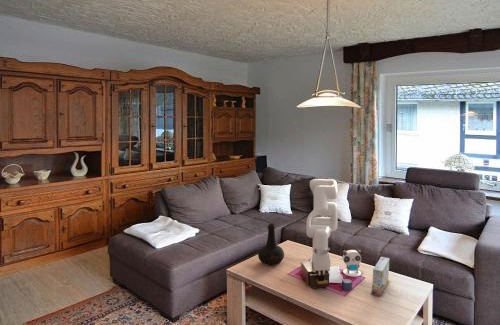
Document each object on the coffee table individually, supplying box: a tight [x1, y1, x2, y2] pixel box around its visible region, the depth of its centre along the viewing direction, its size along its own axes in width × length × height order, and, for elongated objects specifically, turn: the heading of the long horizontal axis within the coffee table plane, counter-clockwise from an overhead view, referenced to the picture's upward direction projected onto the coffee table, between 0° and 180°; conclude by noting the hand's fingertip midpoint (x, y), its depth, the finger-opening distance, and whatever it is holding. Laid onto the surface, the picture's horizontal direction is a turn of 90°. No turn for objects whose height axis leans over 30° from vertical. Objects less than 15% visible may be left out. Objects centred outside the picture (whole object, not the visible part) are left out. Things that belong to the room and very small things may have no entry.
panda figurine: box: [341, 249, 363, 278], centre depth 225 cm, size 12×11×15 cm
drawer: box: [309, 272, 330, 289], centre depth 210 cm, size 18×11×8 cm, turn 8°
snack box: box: [371, 256, 391, 297], centre depth 205 cm, size 21×6×15 cm, turn 148°
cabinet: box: [300, 260, 330, 288], centre depth 216 cm, size 15×13×10 cm
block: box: [341, 278, 353, 291], centre depth 206 cm, size 4×4×4 cm
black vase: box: [257, 223, 285, 267], centre depth 241 cm, size 18×18×28 cm
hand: (320, 280), depth 204 cm, fingers closed
